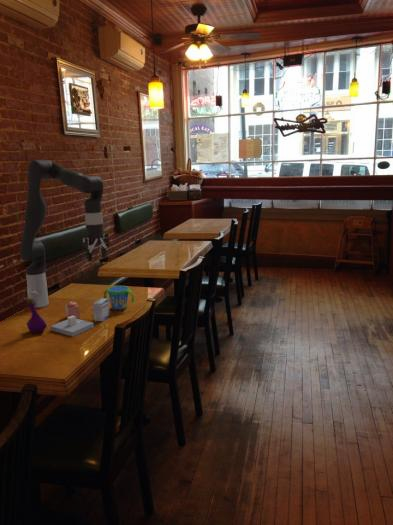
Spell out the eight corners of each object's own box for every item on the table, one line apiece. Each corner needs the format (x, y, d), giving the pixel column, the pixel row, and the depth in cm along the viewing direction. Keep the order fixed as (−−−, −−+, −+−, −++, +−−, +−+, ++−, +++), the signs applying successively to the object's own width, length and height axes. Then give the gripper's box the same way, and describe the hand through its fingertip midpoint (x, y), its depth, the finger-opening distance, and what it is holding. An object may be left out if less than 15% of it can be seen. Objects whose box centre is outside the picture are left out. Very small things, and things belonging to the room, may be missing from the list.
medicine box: (103, 321, 196) (101, 303, 194) (94, 321, 197) (92, 303, 195) (110, 315, 204) (108, 298, 202) (101, 315, 205) (99, 297, 203)
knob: (69, 320, 199) (67, 305, 197) (66, 316, 204) (65, 301, 202) (79, 318, 201) (78, 303, 199) (77, 314, 206) (75, 300, 204)
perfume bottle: (29, 336, 182) (24, 295, 177) (27, 330, 188) (22, 291, 184) (47, 332, 185) (43, 292, 181) (45, 327, 191) (40, 288, 187)
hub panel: (51, 330, 187) (49, 318, 186) (72, 321, 197) (71, 310, 196) (72, 336, 180) (71, 324, 179) (94, 327, 190) (93, 315, 188)
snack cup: (138, 306, 216) (137, 286, 214) (127, 313, 207) (126, 292, 204) (111, 303, 222) (110, 284, 219) (100, 309, 212) (98, 290, 210)
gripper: (99, 220, 195) (102, 255, 199) (75, 224, 184) (79, 261, 187) (111, 221, 191) (114, 256, 195) (88, 225, 180) (91, 263, 183)
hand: (97, 258), depth 191 cm, fingers open, 8 cm apart
